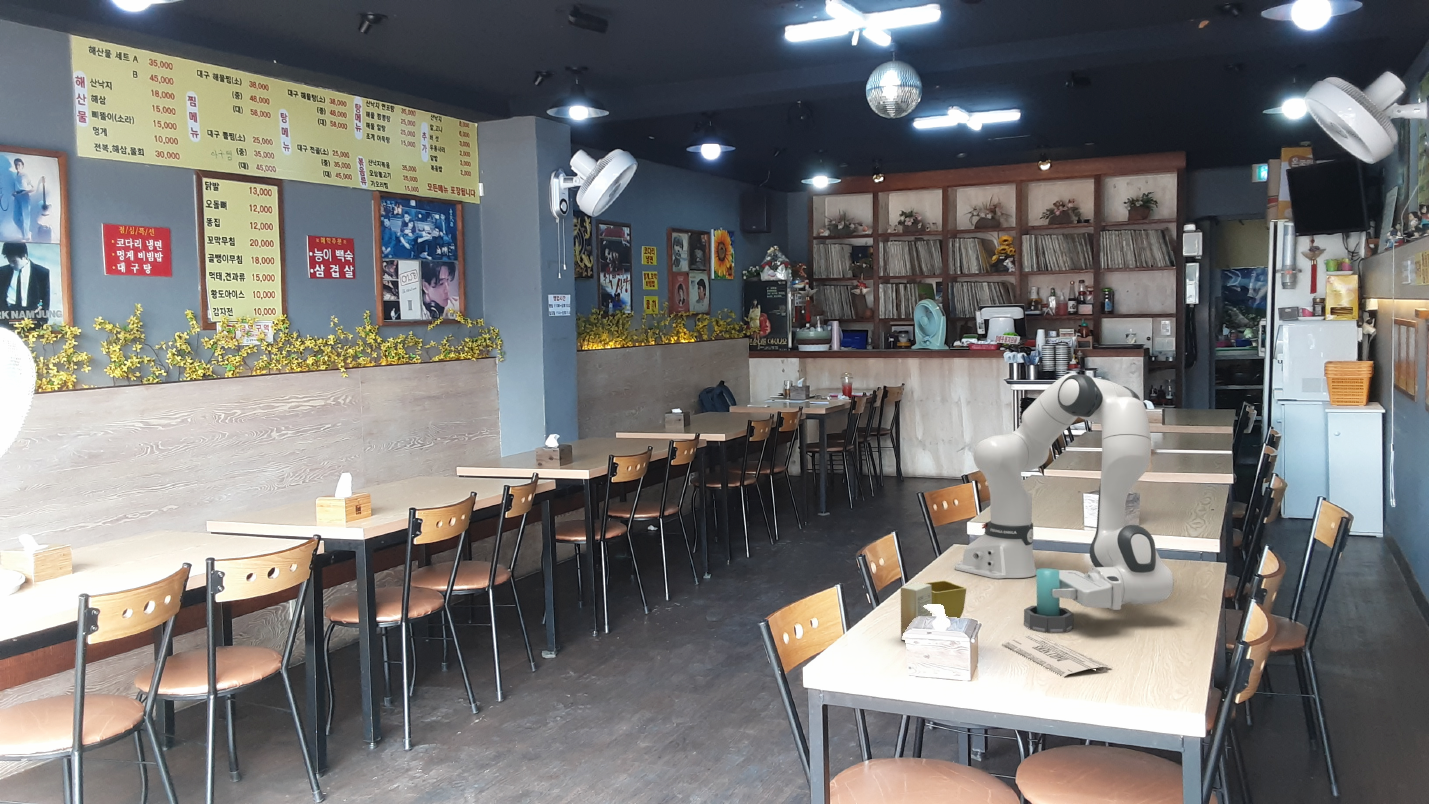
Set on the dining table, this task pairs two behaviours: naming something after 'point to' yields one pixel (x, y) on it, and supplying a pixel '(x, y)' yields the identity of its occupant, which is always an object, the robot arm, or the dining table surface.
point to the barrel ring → (1048, 620)
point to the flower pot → (949, 597)
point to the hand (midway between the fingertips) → (1045, 588)
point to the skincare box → (914, 602)
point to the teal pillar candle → (1047, 592)
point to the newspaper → (1053, 655)
